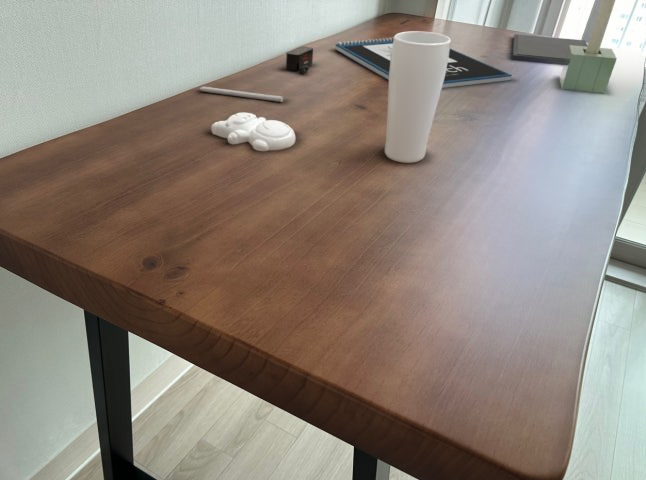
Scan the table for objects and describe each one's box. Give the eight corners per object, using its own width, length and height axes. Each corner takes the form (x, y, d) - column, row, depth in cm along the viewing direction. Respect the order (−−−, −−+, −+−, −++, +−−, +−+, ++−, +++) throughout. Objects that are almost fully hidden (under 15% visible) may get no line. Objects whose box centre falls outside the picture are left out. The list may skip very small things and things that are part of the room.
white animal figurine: (242, 119, 87) (242, 99, 85) (307, 139, 81) (308, 118, 79) (202, 136, 81) (200, 115, 79) (268, 158, 75) (268, 136, 73)
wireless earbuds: (282, 71, 108) (282, 53, 106) (301, 63, 113) (301, 46, 111) (304, 76, 106) (304, 57, 104) (321, 67, 111) (323, 49, 109)
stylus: (586, 85, 104) (615, -3, 96) (587, 88, 102) (616, -1, 94) (574, 84, 104) (602, -4, 96) (575, 87, 103) (603, -2, 94)
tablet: (583, 45, 129) (585, 39, 128) (592, 68, 113) (594, 62, 112) (513, 39, 132) (514, 33, 132) (512, 60, 117) (513, 54, 116)
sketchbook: (409, 94, 99) (411, 82, 98) (332, 51, 121) (333, 41, 120) (510, 81, 105) (513, 69, 104) (419, 43, 128) (421, 33, 127)
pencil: (200, 86, 97) (283, 97, 93) (199, 91, 97) (282, 102, 93) (197, 85, 96) (282, 95, 92) (196, 90, 97) (280, 101, 92)
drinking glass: (378, 145, 80) (392, 29, 71) (427, 148, 79) (448, 32, 70) (378, 165, 74) (394, 42, 65) (432, 168, 73) (455, 45, 65)
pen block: (600, 83, 105) (611, 48, 102) (604, 94, 100) (616, 58, 96) (559, 78, 107) (569, 44, 104) (561, 89, 102) (571, 54, 98)
